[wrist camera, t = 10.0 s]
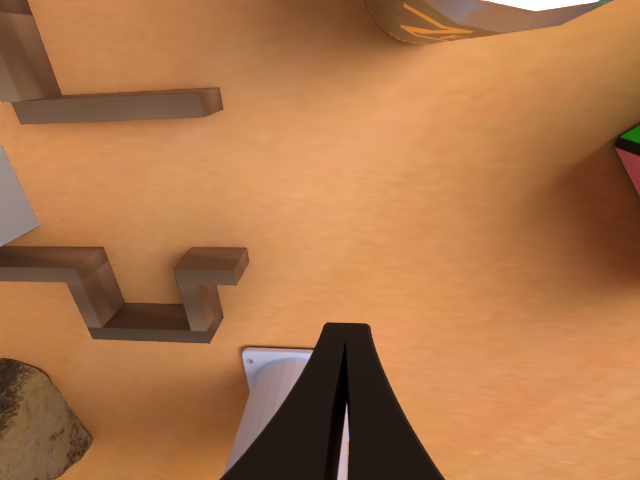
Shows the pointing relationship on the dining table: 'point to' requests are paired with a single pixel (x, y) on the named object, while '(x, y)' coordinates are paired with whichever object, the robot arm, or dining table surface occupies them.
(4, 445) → the rock
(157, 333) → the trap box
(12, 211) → the block
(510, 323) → the dining table surface
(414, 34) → the beer can
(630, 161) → the puzzle cube
